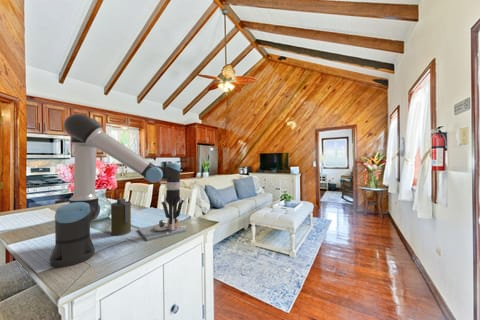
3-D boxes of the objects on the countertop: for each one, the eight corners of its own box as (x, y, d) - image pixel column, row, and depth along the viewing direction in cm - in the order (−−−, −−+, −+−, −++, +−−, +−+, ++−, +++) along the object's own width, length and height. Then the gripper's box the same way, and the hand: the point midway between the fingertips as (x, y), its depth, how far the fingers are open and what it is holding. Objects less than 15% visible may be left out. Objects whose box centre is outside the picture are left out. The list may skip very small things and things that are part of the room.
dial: (149, 231, 115) (149, 221, 115) (158, 225, 125) (158, 216, 125) (174, 232, 113) (174, 222, 113) (181, 226, 123) (181, 216, 123)
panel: (147, 241, 105) (147, 238, 105) (138, 230, 120) (138, 228, 120) (189, 230, 120) (189, 228, 120) (176, 222, 135) (176, 220, 135)
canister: (106, 233, 115) (106, 199, 115) (124, 228, 124) (124, 196, 124) (118, 237, 110) (117, 201, 110) (135, 231, 119) (135, 198, 119)
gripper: (164, 190, 109) (163, 233, 109) (186, 189, 117) (185, 228, 117) (159, 189, 114) (159, 229, 114) (180, 187, 123) (180, 225, 123)
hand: (172, 229), depth 116 cm, fingers closed
